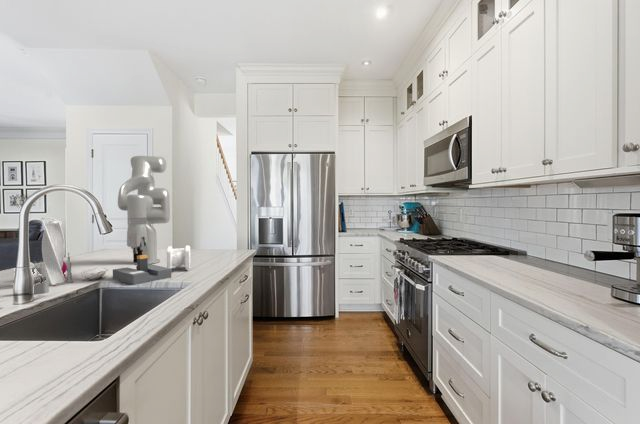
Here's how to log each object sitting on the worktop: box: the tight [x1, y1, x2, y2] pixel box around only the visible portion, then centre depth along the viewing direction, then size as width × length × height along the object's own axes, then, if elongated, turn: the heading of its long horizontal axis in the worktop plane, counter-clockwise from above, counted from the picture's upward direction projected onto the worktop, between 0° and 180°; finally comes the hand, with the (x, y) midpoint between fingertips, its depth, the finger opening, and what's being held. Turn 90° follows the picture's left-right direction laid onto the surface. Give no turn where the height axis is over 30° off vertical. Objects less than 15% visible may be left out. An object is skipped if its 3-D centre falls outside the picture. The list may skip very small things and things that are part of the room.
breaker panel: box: [112, 264, 172, 286], centre depth 142 cm, size 20×16×4 cm
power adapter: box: [30, 260, 50, 295], centre depth 119 cm, size 3×5×12 cm, turn 108°
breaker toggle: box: [136, 255, 148, 272], centre depth 142 cm, size 3×3×8 cm
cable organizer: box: [166, 244, 192, 271], centre depth 161 cm, size 15×11×12 cm
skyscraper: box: [40, 216, 74, 287], centre depth 132 cm, size 8×8×28 cm
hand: (138, 262), depth 144 cm, fingers closed
